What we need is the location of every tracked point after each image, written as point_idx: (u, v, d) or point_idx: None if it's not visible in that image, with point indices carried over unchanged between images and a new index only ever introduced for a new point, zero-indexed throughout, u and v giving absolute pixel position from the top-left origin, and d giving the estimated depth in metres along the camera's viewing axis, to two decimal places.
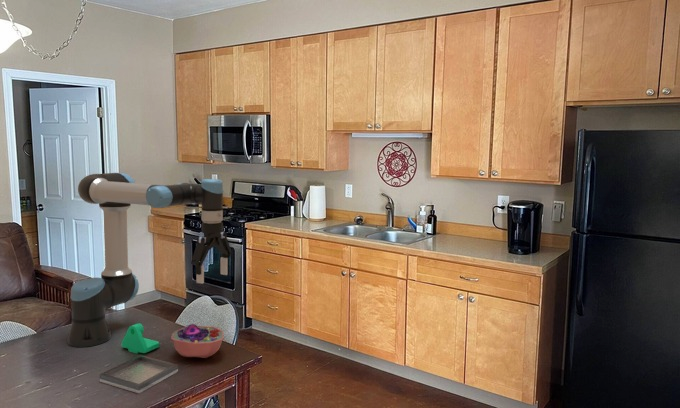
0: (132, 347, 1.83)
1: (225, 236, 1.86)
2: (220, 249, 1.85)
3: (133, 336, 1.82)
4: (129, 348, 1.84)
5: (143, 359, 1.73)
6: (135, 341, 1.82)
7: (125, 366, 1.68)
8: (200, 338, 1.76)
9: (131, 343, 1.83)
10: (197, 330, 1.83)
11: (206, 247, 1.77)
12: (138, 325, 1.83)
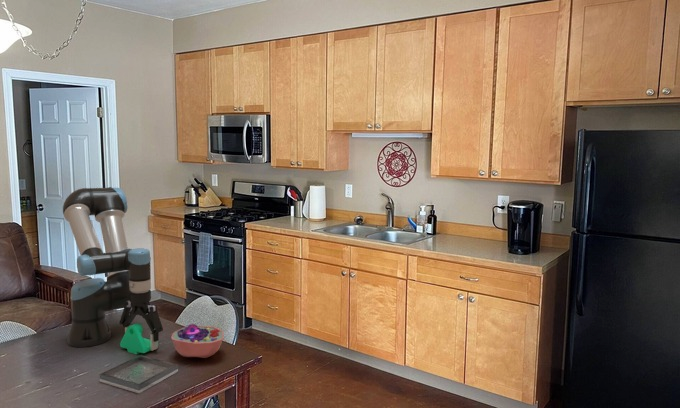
0: (131, 347, 1.82)
1: (150, 310, 1.81)
2: None
3: (132, 336, 1.82)
4: (128, 348, 1.83)
5: (143, 359, 1.73)
6: (135, 341, 1.81)
7: (125, 366, 1.68)
8: (200, 338, 1.76)
9: (130, 343, 1.82)
10: (197, 330, 1.83)
11: None
12: (137, 325, 1.83)
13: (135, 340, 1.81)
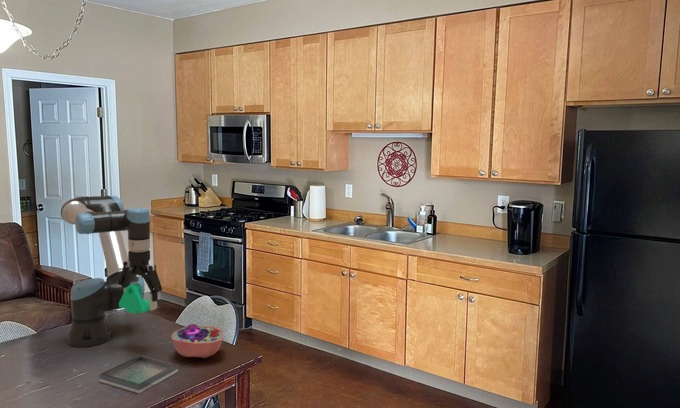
0: (129, 306, 1.81)
1: (149, 270, 1.79)
2: None
3: (131, 296, 1.80)
4: (126, 308, 1.82)
5: (143, 359, 1.73)
6: (133, 300, 1.80)
7: (125, 366, 1.68)
8: (200, 338, 1.76)
9: (129, 303, 1.81)
10: (197, 330, 1.83)
11: None
12: (136, 285, 1.81)
13: (134, 299, 1.80)
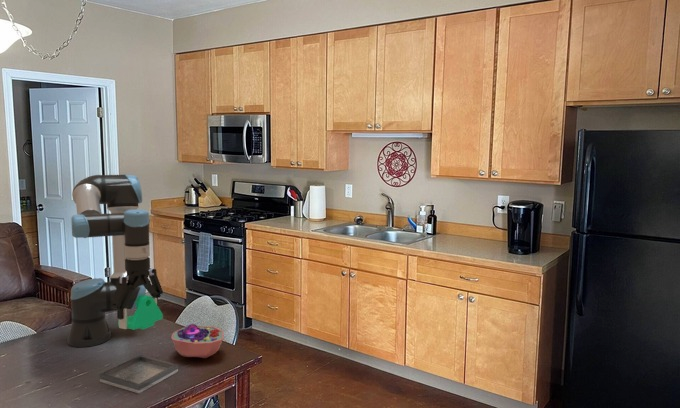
0: (147, 321, 1.60)
1: (154, 273, 1.66)
2: (148, 288, 1.65)
3: (149, 307, 1.60)
4: (143, 325, 1.59)
5: (143, 359, 1.73)
6: (152, 311, 1.62)
7: (125, 366, 1.68)
8: (200, 338, 1.76)
9: (147, 317, 1.60)
10: (197, 330, 1.83)
11: (129, 287, 1.57)
12: None
13: (153, 310, 1.62)
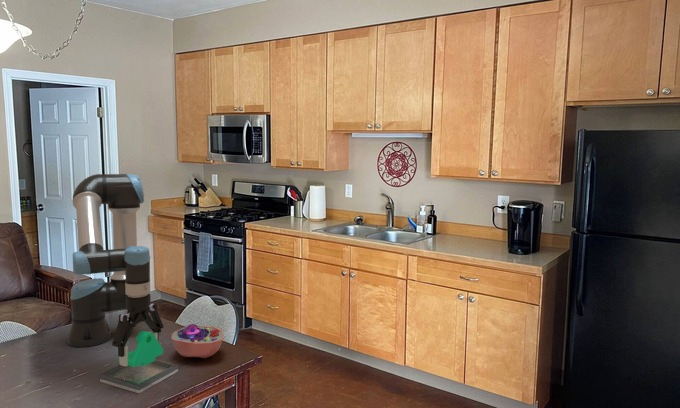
0: (148, 357, 1.61)
1: (155, 308, 1.67)
2: (149, 323, 1.66)
3: (150, 344, 1.61)
4: (144, 362, 1.60)
5: None
6: (153, 347, 1.63)
7: (125, 366, 1.68)
8: (200, 338, 1.76)
9: (147, 353, 1.61)
10: (197, 330, 1.83)
11: (130, 324, 1.58)
12: None
13: (153, 346, 1.63)
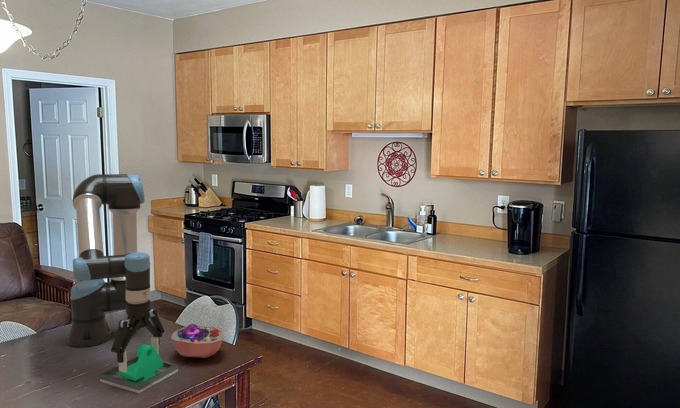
0: (149, 370, 1.62)
1: (155, 314, 1.67)
2: (149, 329, 1.66)
3: (150, 357, 1.62)
4: (145, 375, 1.60)
5: None
6: (153, 360, 1.63)
7: None
8: (200, 338, 1.76)
9: (148, 367, 1.61)
10: (197, 330, 1.83)
11: (130, 330, 1.58)
12: (147, 345, 1.63)
13: (154, 359, 1.64)
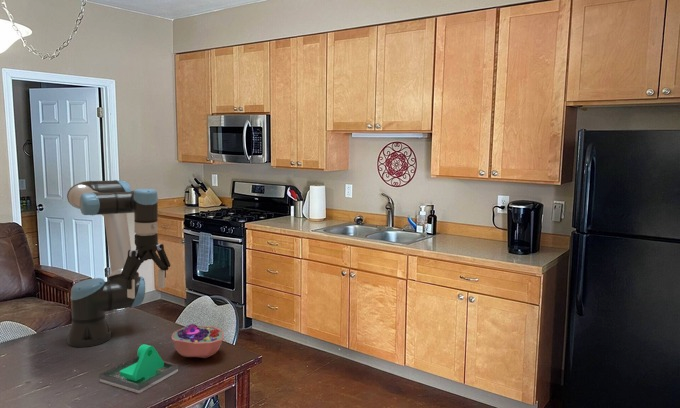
0: (149, 370, 1.62)
1: (162, 248, 1.78)
2: (156, 261, 1.77)
3: (151, 357, 1.62)
4: (145, 375, 1.60)
5: None
6: (154, 360, 1.63)
7: (125, 366, 1.68)
8: (200, 338, 1.76)
9: (148, 367, 1.61)
10: (197, 330, 1.83)
11: (138, 260, 1.69)
12: (147, 345, 1.63)
13: (154, 359, 1.63)
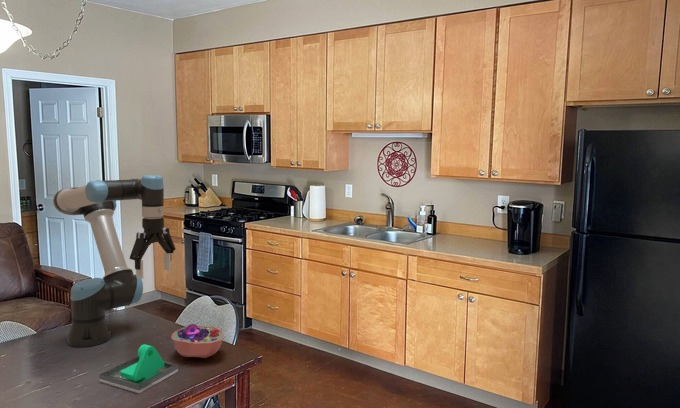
0: (150, 370, 1.62)
1: (167, 232, 1.88)
2: (162, 245, 1.87)
3: (151, 357, 1.62)
4: (146, 375, 1.60)
5: None
6: (154, 360, 1.63)
7: (125, 366, 1.68)
8: (200, 338, 1.76)
9: (149, 367, 1.61)
10: (197, 330, 1.83)
11: (146, 242, 1.79)
12: (148, 345, 1.63)
13: (155, 359, 1.63)
